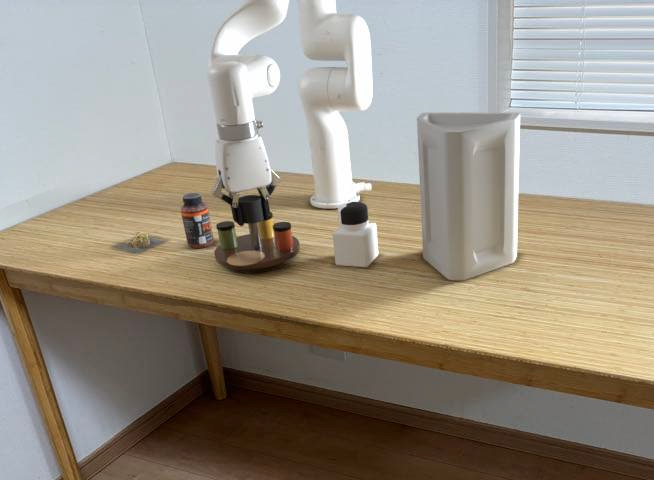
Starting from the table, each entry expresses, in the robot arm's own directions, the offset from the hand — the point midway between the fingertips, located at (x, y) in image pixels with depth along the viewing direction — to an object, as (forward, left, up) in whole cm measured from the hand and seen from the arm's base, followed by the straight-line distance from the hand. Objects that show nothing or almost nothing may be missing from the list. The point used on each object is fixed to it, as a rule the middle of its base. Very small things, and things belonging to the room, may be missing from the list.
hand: (252, 220), depth 160 cm
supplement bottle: (+12, -15, -9) cm, 21 cm away
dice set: (+26, -21, -9) cm, 35 cm away
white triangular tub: (-40, +19, -9) cm, 45 cm away
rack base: (0, 0, -9) cm, 9 cm away
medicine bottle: (-20, +8, -9) cm, 23 cm away
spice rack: (0, +1, -7) cm, 7 cm away
